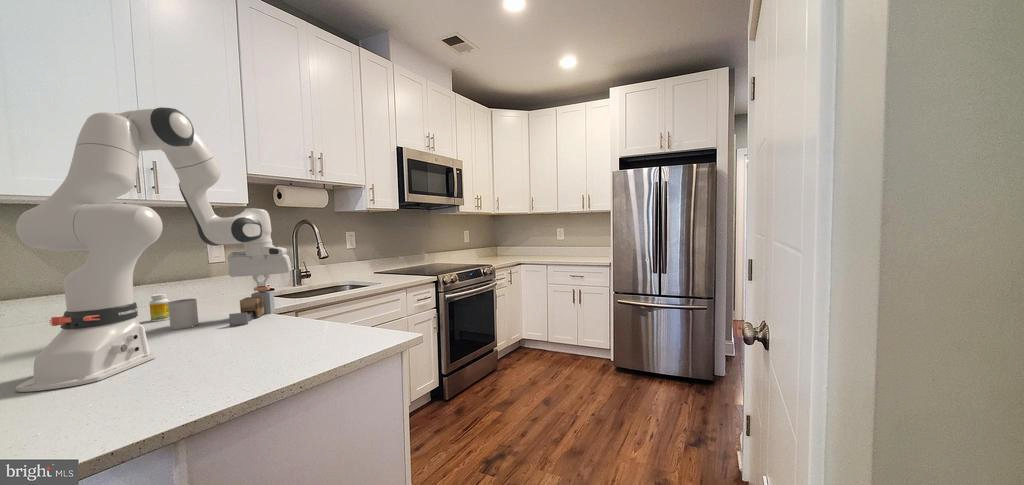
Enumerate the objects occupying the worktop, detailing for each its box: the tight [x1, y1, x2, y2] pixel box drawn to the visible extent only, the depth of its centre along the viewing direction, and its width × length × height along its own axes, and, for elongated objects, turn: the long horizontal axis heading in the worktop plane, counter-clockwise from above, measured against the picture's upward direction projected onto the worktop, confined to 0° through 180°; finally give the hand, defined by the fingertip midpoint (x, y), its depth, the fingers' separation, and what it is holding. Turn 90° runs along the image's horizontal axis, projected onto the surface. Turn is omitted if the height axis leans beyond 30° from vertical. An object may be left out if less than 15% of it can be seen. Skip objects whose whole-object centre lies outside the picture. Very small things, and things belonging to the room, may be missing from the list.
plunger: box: [253, 285, 271, 293], centre depth 144 cm, size 3×4×5 cm
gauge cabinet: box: [250, 290, 276, 315], centre depth 144 cm, size 4×6×8 cm
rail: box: [228, 310, 257, 327], centre depth 133 cm, size 16×5×4 cm, turn 16°
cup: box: [168, 298, 199, 330], centre depth 128 cm, size 7×10×9 cm
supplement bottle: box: [149, 293, 170, 323], centre depth 139 cm, size 5×5×10 cm
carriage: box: [239, 296, 265, 318], centre depth 137 cm, size 6×5×7 cm
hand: (262, 286), depth 144 cm, fingers closed
